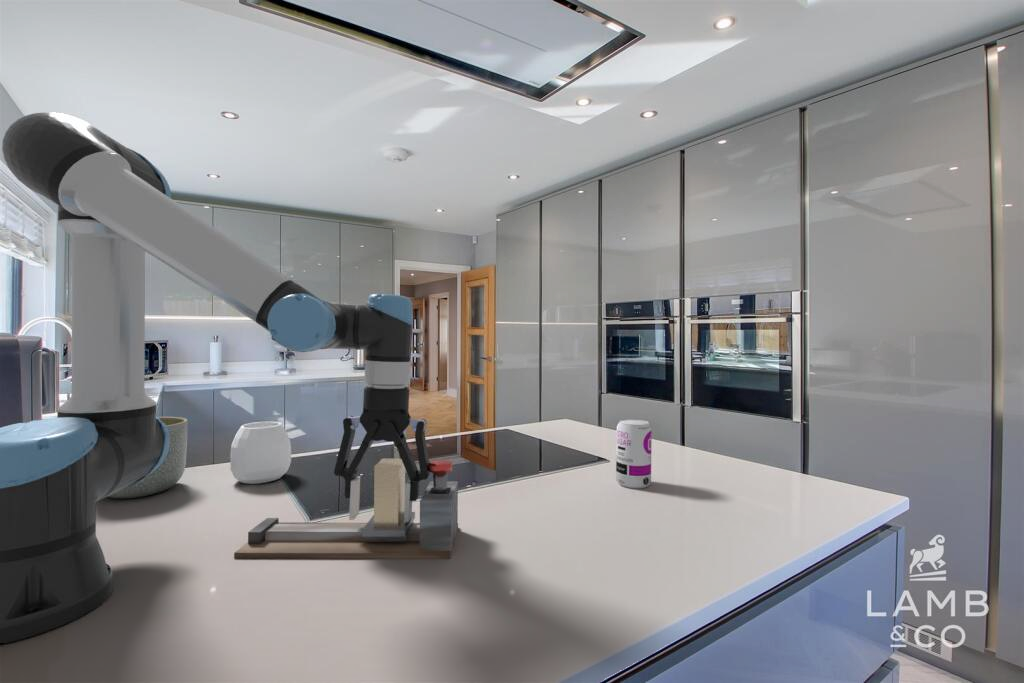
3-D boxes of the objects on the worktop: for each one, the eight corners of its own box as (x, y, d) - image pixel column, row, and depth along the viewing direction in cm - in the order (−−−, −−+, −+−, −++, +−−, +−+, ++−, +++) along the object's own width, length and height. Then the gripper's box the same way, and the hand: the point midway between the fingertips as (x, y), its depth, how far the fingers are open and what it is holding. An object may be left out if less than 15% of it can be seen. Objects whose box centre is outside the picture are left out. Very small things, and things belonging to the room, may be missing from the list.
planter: (158, 476, 114) (158, 414, 114) (204, 485, 108) (204, 419, 108) (72, 498, 99) (72, 426, 99) (119, 509, 92) (119, 433, 92)
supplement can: (654, 482, 113) (655, 421, 113) (645, 491, 106) (645, 426, 106) (622, 476, 117) (623, 417, 117) (611, 485, 110) (611, 422, 110)
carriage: (405, 545, 75) (405, 469, 75) (361, 545, 75) (362, 468, 75) (415, 525, 83) (415, 456, 83) (376, 525, 83) (376, 456, 83)
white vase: (282, 468, 122) (282, 417, 122) (298, 480, 112) (299, 425, 112) (224, 478, 113) (224, 423, 113) (236, 492, 103) (237, 432, 103)
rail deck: (449, 558, 73) (450, 503, 73) (234, 557, 73) (234, 502, 73) (458, 527, 85) (458, 479, 85) (272, 526, 85) (273, 478, 85)
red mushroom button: (450, 509, 77) (450, 466, 77) (426, 509, 77) (426, 466, 77) (453, 500, 81) (453, 459, 81) (430, 500, 81) (430, 459, 81)
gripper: (452, 386, 83) (446, 512, 83) (333, 380, 82) (327, 507, 83) (446, 391, 75) (439, 529, 75) (315, 384, 75) (309, 523, 75)
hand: (380, 517), depth 79 cm, fingers open, 8 cm apart
